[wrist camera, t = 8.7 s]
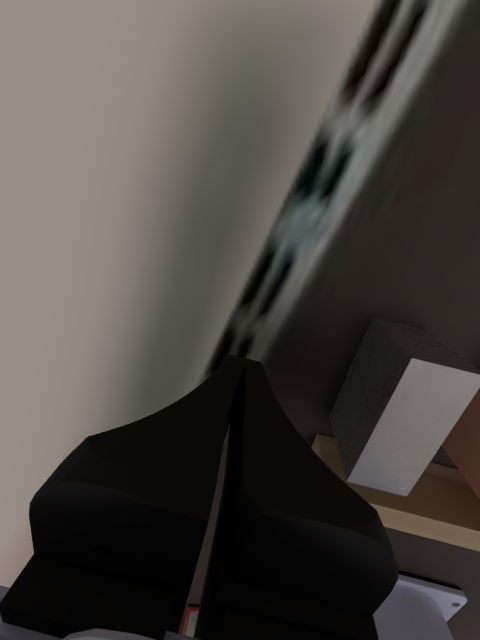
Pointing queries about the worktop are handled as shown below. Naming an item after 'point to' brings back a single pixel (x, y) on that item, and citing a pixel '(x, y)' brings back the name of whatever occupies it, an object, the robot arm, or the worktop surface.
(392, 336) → the grey rectangular block
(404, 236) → the worktop surface
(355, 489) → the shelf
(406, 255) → the worktop surface
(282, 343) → the worktop surface
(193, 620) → the cracker box
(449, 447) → the pink rectangular block
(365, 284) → the worktop surface
